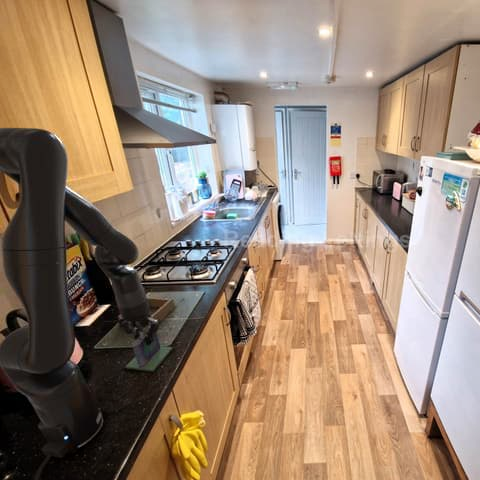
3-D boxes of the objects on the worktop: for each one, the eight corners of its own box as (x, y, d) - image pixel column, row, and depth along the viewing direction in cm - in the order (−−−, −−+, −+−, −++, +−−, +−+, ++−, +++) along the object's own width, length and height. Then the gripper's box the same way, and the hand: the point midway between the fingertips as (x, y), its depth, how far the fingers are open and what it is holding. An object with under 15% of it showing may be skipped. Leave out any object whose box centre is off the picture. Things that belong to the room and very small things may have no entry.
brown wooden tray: (152, 328, 106) (150, 319, 104) (120, 325, 107) (117, 316, 106) (175, 307, 119) (173, 298, 117) (146, 304, 120) (143, 296, 119)
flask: (143, 367, 87) (135, 342, 83) (135, 366, 87) (126, 341, 83) (162, 346, 95) (156, 322, 91) (155, 346, 96) (148, 322, 92)
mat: (153, 371, 86) (152, 369, 86) (125, 368, 88) (125, 366, 87) (172, 348, 96) (172, 347, 95) (147, 346, 97) (147, 344, 96)
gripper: (101, 305, 80) (117, 349, 87) (143, 309, 78) (157, 353, 85) (121, 292, 87) (135, 333, 93) (160, 295, 85) (172, 337, 92)
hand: (145, 342), depth 89 cm, fingers open, 3 cm apart
